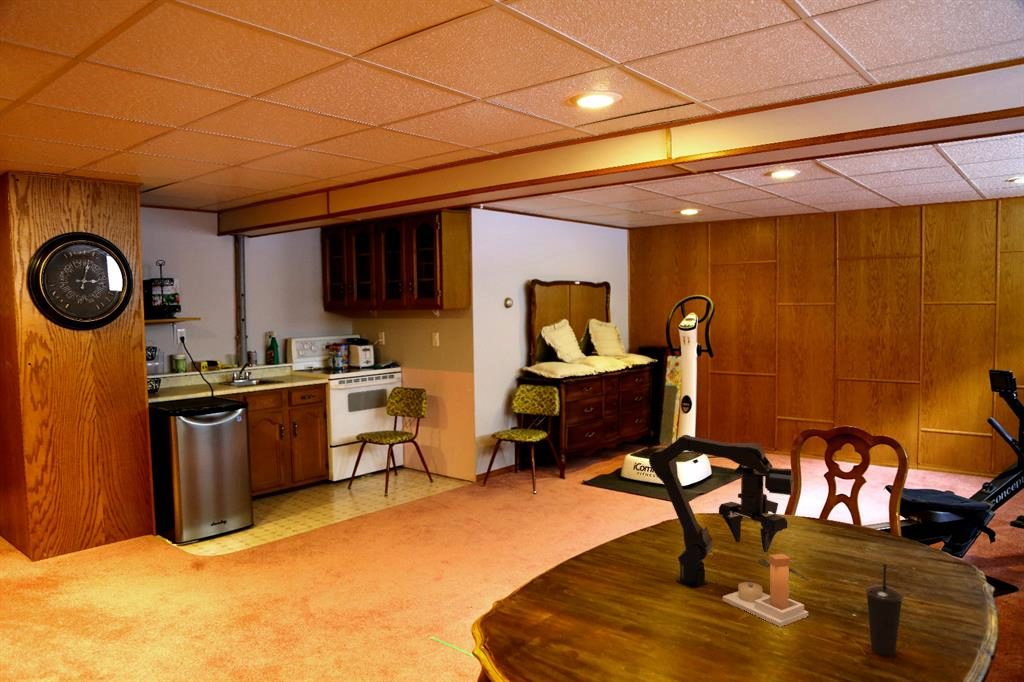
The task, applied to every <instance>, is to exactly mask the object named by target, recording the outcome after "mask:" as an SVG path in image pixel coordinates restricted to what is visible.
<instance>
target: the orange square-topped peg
mask: <svg viewBox="0 0 1024 682" xmlns="http://www.w3.org/2000/svg"><path fill="white" fill-rule="evenodd" d="M768 564H770V569H769V570H770V571H769V595H770V605H771V606H773V607H775V608H778V609H780V610H784V609H787V608H788V598H789V597H790V596H789V590H790V589H789V588H790V587H789V585H790V584H789V583H790V581H789V578H790V571H789V568H790V566H791V557H789V556H788V555H786V554H785V553H775V554H769V555H768Z"/></svg>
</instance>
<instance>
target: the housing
mask: <svg viewBox="0 0 1024 682" xmlns="http://www.w3.org/2000/svg"><path fill="white" fill-rule="evenodd" d="M722 601H723V602H724V601H725V603H727V604H729V605H731V606H734V607H735V608H737V607H738V608H737V609H739V608H740V609H739V610H742V611H744V610H745V612H746V611H747V612H746V613H748V612H749V614H750V613H751V615H752V614H753V616H755V615H756V616H755V617H757V618H759V617H760V618H759V619H761V618H762V620H763V619H764V621H765V620H766V622H768V623H769V624H772V623H773V624H772V625H774V624H775V625H774V626H776V625H777V626H776V627H778V626H779V628H781V627H784V625H785V626H786V625H789V624H792V623H795V622H797V620H798V621H800V620H802V618H803V619H805V618H808V617H809V611H807V610H805V604H803V603H801V602H799V601H796V600H793V599H791V598H789V597H788V608H787V609H784V610H780V609H778V608H775V607H773V606H771V605H770V594H767V593H765V592H763V586H762V585H760V584H758V583H755V582H752V581H744V582H740V583H739V584H738V590H737V591H735V592H732V593H728V594H726V595H723V596H722ZM807 616H808V617H807Z"/></svg>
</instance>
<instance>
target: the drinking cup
mask: <svg viewBox="0 0 1024 682" xmlns="http://www.w3.org/2000/svg"><path fill="white" fill-rule="evenodd" d="M887 569H888V567H887V564H883V565H882V584H875V585H870V586H866V588H865V594H866V600H867V611H868V612H867V613H868V614H867V615H868V623H869V624H868V625H869V636H870V637H869V638H870V648H871V650H872V652H874V653H875V654H877V655H880V656H884V657H893V656H894V655H896V649H897V642H898V633H899V627H900V625H899V624H900V618H901V610H902V603H903V600H904V594H903V592H901V591H900V590H898V589H895V588H893V587H891V586H888V585H887Z"/></svg>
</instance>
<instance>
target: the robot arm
mask: <svg viewBox="0 0 1024 682" xmlns="http://www.w3.org/2000/svg"><path fill="white" fill-rule="evenodd" d="M683 452H691V453H697V454H702V455H707V456H711V457H716V458H717V457H718V458H724V459H727V460H730V461H732V462H733V463H735V464H737V465H738V466H737V467H736V468H735V469H734V470H733V472H732V473H733V474H737V475H740V476H741V477H740V479H741V480H740V493H737V498H739V499H740V503H737V502H736V501H735V502H734V501H728V502H725V503H720V505H719V506H718V515H721V518H722V519H724V520H725V523H726V524H727V526H728V528H729V530H730V532H731V534H732V536H733V539H734V541H735V543H740V542H741V532H742V528H741V527H742V521H743V518H746V519H749V520H751V521H752V520H753V521H756V522H758V523H760V526H761V528H760V529H759V530H760V537H761V538H760V539H761V545H762V550H763V553H768V551H769V549H770V547H771V543H772V542H773V539H774V537H775V535H776V534H777V533H778V532H781V531H783V530H786V529H788V520H787V518H786V517H785V516H781V515H778V514H777V511H778V506H779V503H778V502H776V501H773V500H769V499H768V496H767V494H766V493H764V488H765V489H766V491H769V494H778V495H783V496H784V495H786V496H793V494H794V488H795V487H794V484H795V481H794V476H793V475H794V474H793V469H792V468H779V467H774V466H773V464H772V463H771V462H770V461H769V459H768V457H766V451H765V449H764V448H763V446H762V445H761V444H759V443H757V442H738V443H737V442H734V443H729V442H724V441H720V440H719V441H718V440H714V439H713V440H712V439H708V438H701V437H697V436H691V435H690V434H683V435H681V436H679V437H678V438H677V439H676V440H675V441H674V442H673V443H671V444H669V446H667V447H661V448H658V449H657V450H656V451H654V452H652V454H650V456H649V459H648V464H649V466H650V467H651V469H652V471H653V473H654V474H655V475H656V477H657V479H659V480H660V481H661V482H662V483H663V485H664V488H665V491H666V493H667V495H668V497H669V499H670V502H671V505H672V506H673V509H674V511H675V513H676V515H677V518H678V521H679V523H680V525H681V528H682V531H683V532H682V533H683V543H684V547H685V549H683V551H682V552H680V554H679V556H678V557H677V559H678V562H679V568H680V569H679V578H678V577H677V578H676V579H675V582H678V583H680V584H682V585H684V586H686V587H687V588H691V589H695V588H698V587H702V586H705V585H707V584H709V582H708V581H707V580H706V569H705V563H704V562H703V561H704V559H706V557H707V556H708V555H709V553H710V552H711V551H712V547H713V540H714V539H713V537H712V536H711V535H710V533H709V532H710V531H709V528H708V526H704V527H702V526H701V525H700V524H699V523H698V521H697V518H696V516H695V514H694V511H693V509H692V507H691V505H690V502H689V500H688V497H687V494H686V493H685V490H684V488H683V486H682V483H681V481H680V479H679V474H678V473H679V472H678V465H677V459H676V458H677V457H678V456H680V454H682V453H683ZM769 513H772V514H771V515H769Z"/></svg>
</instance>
